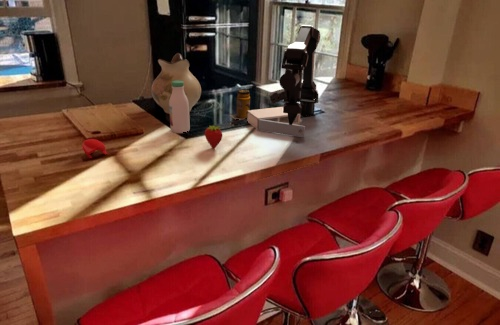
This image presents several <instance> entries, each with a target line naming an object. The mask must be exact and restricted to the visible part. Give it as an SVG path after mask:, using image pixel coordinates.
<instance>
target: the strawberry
mask: <svg viewBox="0 0 500 325" xmlns="http://www.w3.org/2000/svg"><path fill="white" fill-rule="evenodd" d="M215 125H216V121H215V122H214V124H213V125H208V126H209V127H206V129H205V131H204V135H205V136H204V137H205V139H206V141H207V143H208V144H209V145H210V147H211V148H212V149H216V147H217V146H218V145H219V144H220V143H221V141H222V139H223V132H222V130H221V128H220V126H215Z"/></svg>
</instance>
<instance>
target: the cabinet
mask: <svg viewBox="0 0 500 325" xmlns="http://www.w3.org/2000/svg"><path fill="white" fill-rule="evenodd" d="M283 107H284V106H277V107H269V108H267V107H266V108H260V109H259V108H258V109H250V110H248V114H247V120H246V121H248V124H250V125H251V126H252V127H254V128H255V129H256V130H257V123H258V119H262V120H269V121H276V122H282V123H289V120H288V113H283ZM293 124H296V125H300V124H301V115H300V114H298V115H297V116H296V118H295V120H294V122H293Z"/></svg>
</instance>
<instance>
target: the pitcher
mask: <svg viewBox="0 0 500 325" xmlns="http://www.w3.org/2000/svg"><path fill="white" fill-rule="evenodd" d="M157 62H158V64H159V66H160V67H161V71H160V73H159V74H158V75H157V77H156V78H154V80H153V82H152V85H151V95H152V98H153V100H154V102H155V103H156V104H157V105H158V106H159V107H161V108H162V109H163V111H164V113H166V114H169V115H170V112H169V100H170V97H171V94H172V90H173V88H172V81H183V82H184V87H183V90H184V93H185V95H186V97H187V99H188V103H189V113H190V112H191V111H192V108H193V107H194V106H195V105H196V104H197V103H198V101H199V100H200V98H201V95H202V87H201V84H200V82H199V80H198V79H197V78H196V76H194V75H193V73H192V72H191V71H190V70H189V67H190V62H189V60H188V59H184V58H183V55H182V54H181V53H179V52H177V53H176V54H175V55H173V57H172V59H171V61H170V62H169V61H166V60H164V59H162V58H159V59H158V60H157Z"/></svg>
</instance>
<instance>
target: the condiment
mask: <svg viewBox="0 0 500 325" xmlns="http://www.w3.org/2000/svg"><path fill="white" fill-rule="evenodd" d="M248 110H251V96H250V90H249V89H239V90H237V96H236V114H230V115H229V117H230V118H233V119H234V120H236V119H239V118H241V119H239V120H238V121H241V120H246V119H245V118H247V114H248Z"/></svg>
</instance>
